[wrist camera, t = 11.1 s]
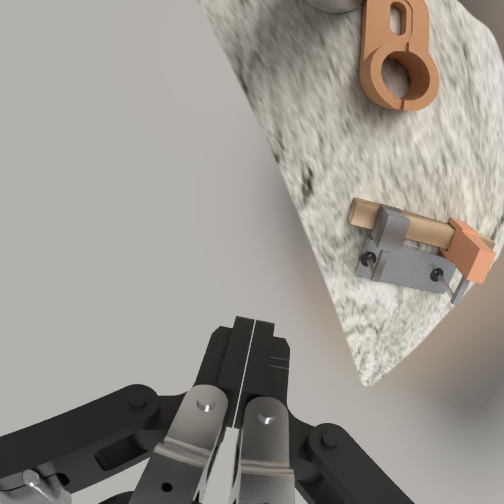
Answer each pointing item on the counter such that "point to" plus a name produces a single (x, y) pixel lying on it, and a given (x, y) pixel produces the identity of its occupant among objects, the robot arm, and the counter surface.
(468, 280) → the block
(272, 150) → the counter surface
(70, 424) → the robot arm
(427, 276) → the strip
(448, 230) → the trammel bar
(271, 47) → the counter surface
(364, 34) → the bracket
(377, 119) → the counter surface
